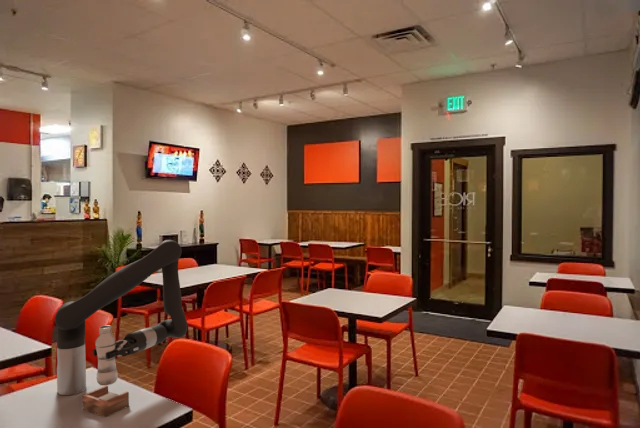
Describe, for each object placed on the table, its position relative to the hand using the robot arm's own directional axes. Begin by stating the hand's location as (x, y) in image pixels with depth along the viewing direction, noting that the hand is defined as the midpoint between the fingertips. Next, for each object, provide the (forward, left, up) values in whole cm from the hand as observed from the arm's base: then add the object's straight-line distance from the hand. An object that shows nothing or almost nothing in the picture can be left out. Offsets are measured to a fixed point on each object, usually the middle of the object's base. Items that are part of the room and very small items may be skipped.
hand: (100, 354), depth 149 cm
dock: (0, +2, -19) cm, 19 cm away
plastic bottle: (0, +2, -11) cm, 11 cm away
